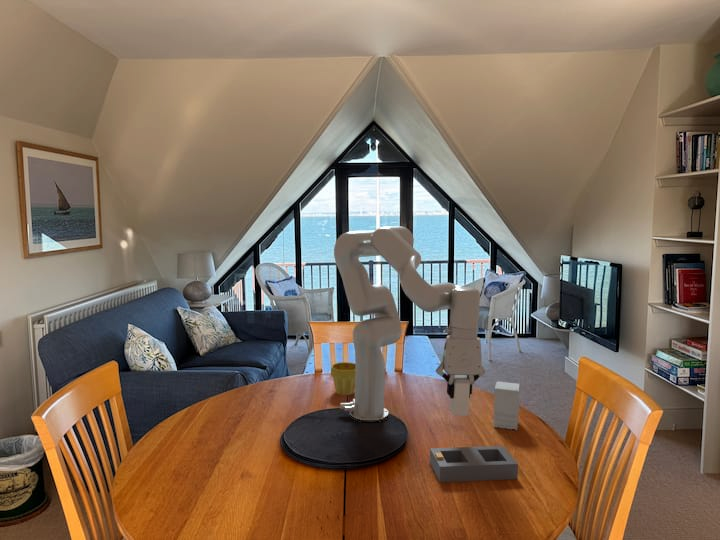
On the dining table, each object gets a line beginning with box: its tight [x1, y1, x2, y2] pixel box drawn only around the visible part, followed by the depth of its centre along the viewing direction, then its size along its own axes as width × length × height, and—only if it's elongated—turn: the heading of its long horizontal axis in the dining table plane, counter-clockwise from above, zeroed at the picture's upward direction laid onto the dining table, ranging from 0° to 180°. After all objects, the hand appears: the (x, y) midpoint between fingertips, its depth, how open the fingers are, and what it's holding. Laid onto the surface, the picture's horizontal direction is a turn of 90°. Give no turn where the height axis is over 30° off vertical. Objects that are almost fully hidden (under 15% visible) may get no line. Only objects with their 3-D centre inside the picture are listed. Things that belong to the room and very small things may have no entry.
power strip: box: [429, 445, 519, 483], centre depth 136 cm, size 20×10×5 cm, turn 96°
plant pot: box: [330, 361, 355, 396], centre depth 192 cm, size 10×10×10 cm
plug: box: [448, 375, 470, 417], centre depth 147 cm, size 4×5×10 cm
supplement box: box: [493, 381, 520, 431], centre depth 166 cm, size 7×7×13 cm
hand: (459, 396), depth 147 cm, fingers closed on plug, 4 cm apart
